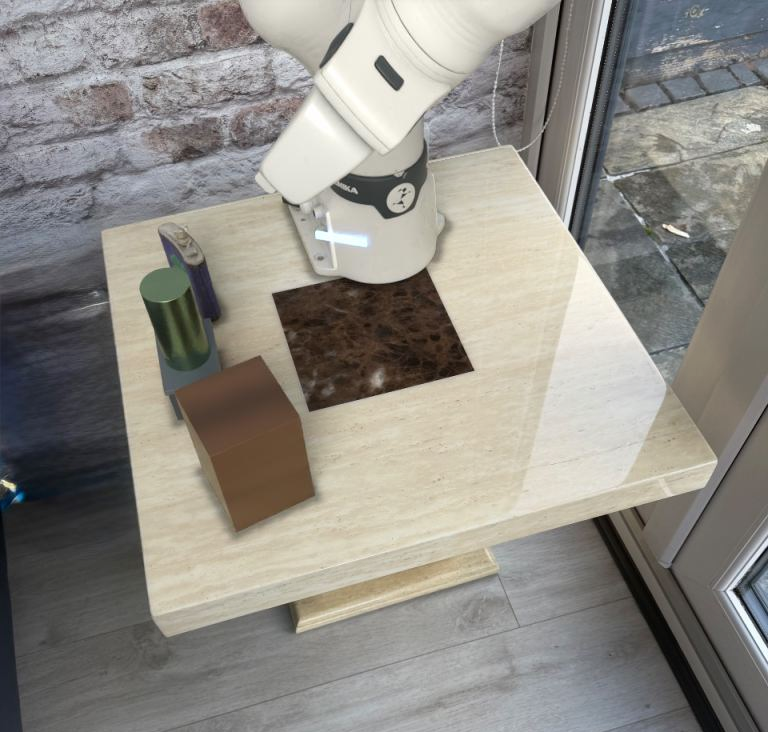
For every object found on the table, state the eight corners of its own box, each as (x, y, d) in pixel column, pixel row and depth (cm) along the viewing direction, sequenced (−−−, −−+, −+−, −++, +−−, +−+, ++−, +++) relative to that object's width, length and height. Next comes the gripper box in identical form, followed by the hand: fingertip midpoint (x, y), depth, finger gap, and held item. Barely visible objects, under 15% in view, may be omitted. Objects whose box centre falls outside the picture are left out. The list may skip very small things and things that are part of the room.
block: (202, 470, 90) (173, 390, 79) (278, 437, 92) (260, 354, 81) (236, 532, 86) (209, 457, 75) (315, 496, 88) (300, 417, 77)
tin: (158, 348, 93) (132, 278, 84) (200, 331, 94) (178, 260, 85) (174, 377, 90) (149, 308, 82) (217, 360, 91) (197, 290, 83)
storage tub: (165, 361, 99) (153, 329, 94) (219, 350, 99) (210, 317, 95) (175, 423, 94) (163, 391, 89) (232, 410, 94) (223, 378, 90)
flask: (171, 284, 106) (149, 213, 97) (192, 274, 107) (171, 203, 98) (207, 326, 102) (187, 256, 93) (228, 316, 103) (210, 245, 94)
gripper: (422, -78, 59) (309, 42, 69) (315, 80, 49) (201, 193, 59) (480, -2, 62) (362, 102, 72) (390, 162, 52) (268, 256, 62)
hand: (289, 145), depth 66 cm, fingers open, 8 cm apart
